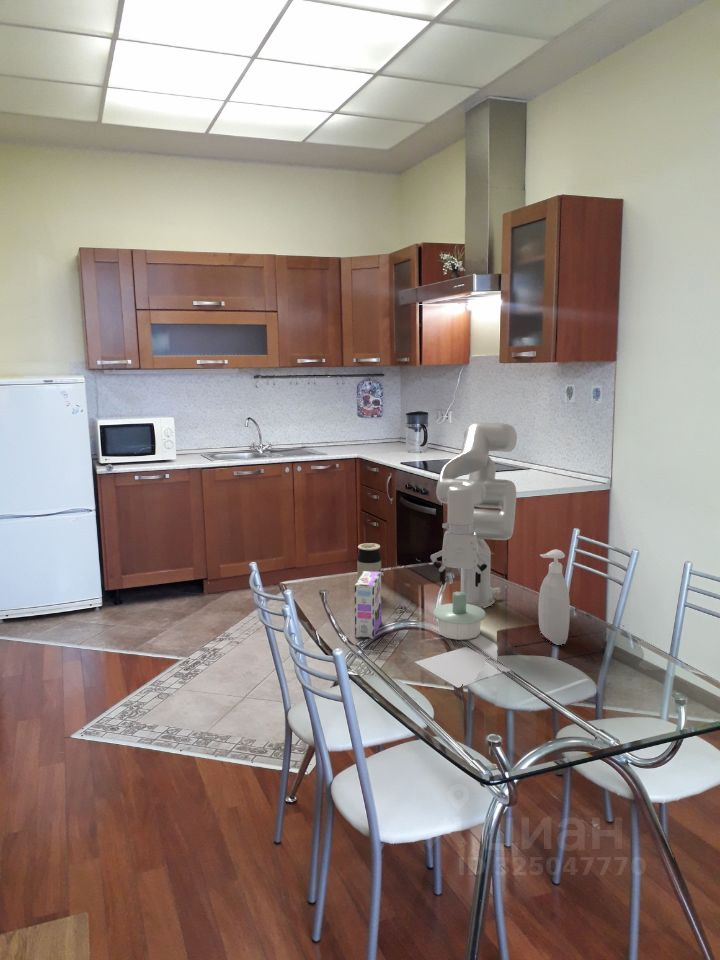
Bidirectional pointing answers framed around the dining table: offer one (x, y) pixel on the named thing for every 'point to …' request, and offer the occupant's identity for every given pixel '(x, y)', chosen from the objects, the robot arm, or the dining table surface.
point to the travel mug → (368, 558)
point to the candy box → (368, 604)
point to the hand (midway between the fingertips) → (460, 584)
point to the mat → (457, 666)
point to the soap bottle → (554, 601)
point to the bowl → (458, 630)
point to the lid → (459, 611)
